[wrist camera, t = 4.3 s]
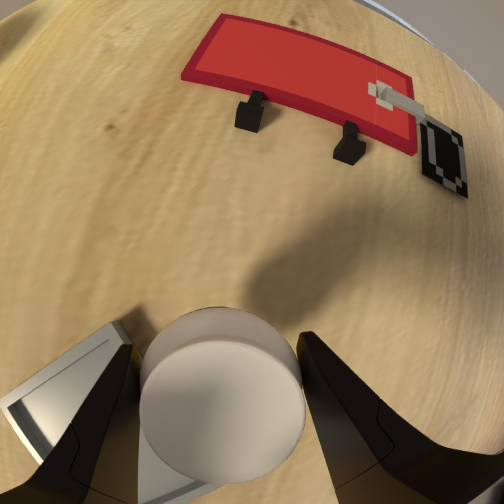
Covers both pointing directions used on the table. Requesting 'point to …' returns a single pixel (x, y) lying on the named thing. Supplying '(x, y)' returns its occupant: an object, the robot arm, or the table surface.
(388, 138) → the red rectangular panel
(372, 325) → the table surface
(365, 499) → the robot arm
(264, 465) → the supplement bottle
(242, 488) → the table surface
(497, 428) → the table surface
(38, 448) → the tray
